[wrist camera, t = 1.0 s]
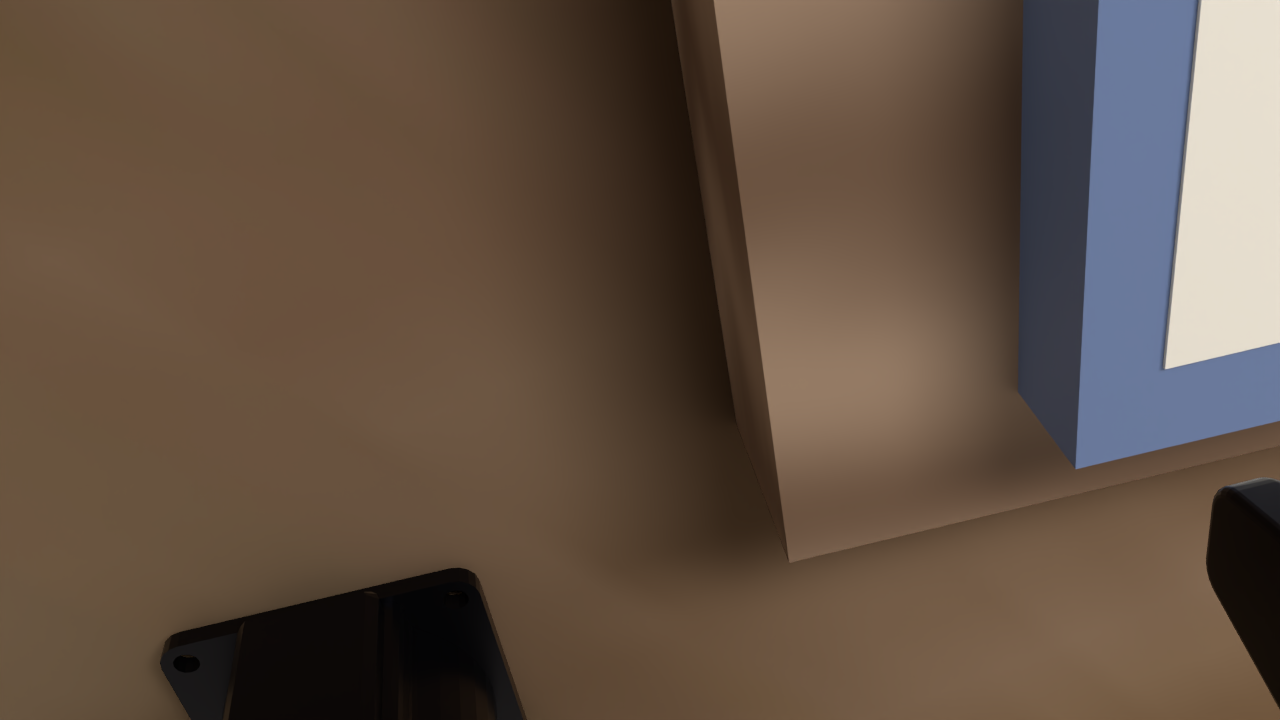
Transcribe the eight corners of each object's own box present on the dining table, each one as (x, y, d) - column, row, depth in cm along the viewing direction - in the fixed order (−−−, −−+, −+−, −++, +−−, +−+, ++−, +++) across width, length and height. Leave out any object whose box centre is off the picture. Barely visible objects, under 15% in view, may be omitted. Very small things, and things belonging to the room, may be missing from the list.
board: (1505, 245, 24) (1678, 350, 21) (736, 425, 24) (789, 562, 20) (1749, -642, 16) (2090, -700, 13) (608, -407, 16) (660, -404, 12)
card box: (1376, 307, 19) (1470, 378, 18) (1018, 392, 19) (1077, 471, 17) (1513, -327, 14) (1662, -314, 12) (1026, -223, 14) (1111, -196, 12)
